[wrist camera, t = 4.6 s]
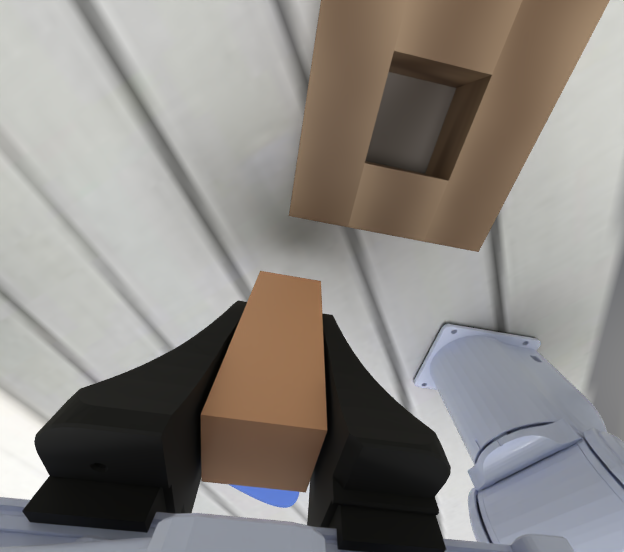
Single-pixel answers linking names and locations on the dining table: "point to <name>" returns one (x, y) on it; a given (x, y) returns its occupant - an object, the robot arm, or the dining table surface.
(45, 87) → the dining table surface
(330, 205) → the socket block
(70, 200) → the dining table surface
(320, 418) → the peg
